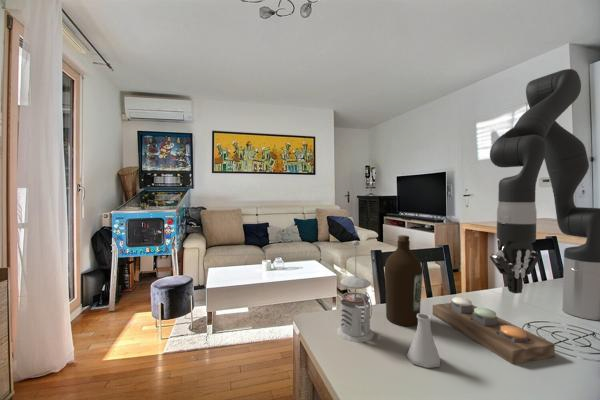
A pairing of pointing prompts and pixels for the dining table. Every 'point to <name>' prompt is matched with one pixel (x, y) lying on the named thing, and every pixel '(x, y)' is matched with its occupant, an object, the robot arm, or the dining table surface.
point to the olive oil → (403, 284)
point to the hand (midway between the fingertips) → (514, 292)
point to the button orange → (513, 334)
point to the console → (496, 336)
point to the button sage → (485, 317)
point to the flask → (424, 344)
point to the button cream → (461, 305)
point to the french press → (355, 309)
